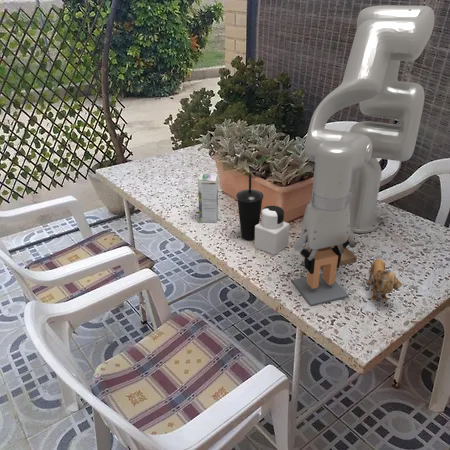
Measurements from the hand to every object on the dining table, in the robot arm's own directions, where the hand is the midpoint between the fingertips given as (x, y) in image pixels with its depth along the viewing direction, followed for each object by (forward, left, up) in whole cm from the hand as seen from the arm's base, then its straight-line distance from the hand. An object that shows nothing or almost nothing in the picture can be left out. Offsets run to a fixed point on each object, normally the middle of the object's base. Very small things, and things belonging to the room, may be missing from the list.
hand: (321, 267), depth 99 cm
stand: (-9, -9, -6) cm, 14 cm away
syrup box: (+15, -44, -7) cm, 47 cm away
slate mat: (0, 0, -6) cm, 6 cm away
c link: (0, 0, -4) cm, 4 cm away
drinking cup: (+7, -29, -7) cm, 31 cm away
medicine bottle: (+3, -22, -7) cm, 23 cm away
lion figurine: (-13, +6, -7) cm, 16 cm away
